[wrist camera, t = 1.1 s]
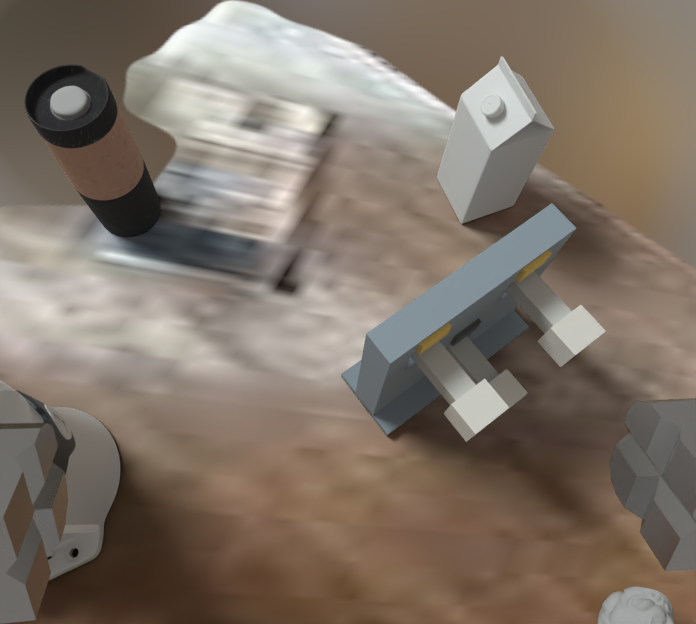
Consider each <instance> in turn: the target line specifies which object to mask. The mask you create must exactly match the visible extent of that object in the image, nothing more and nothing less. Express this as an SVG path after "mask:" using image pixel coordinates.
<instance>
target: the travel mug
mask: <svg viewBox="0 0 696 624" xmlns="http://www.w3.org/2000/svg"><path fill="white" fill-rule="evenodd" d="M24 102H25V109H26V112H27V115H28V117H29V119H30V120H31V122H32V123H33V125H34V126H35V128H36V129H37V130H38V132H39V134H40V135H41V137H42V138H43V140H44V141H45V143H46V145H47V146H48V148H49V149H50V151H51V152H52V154H53V155H54V157H55V158H56V160H57V161H58V163H59V164H60V166H61V167H62V169H63V171H64V172H65V173H66V175H67V177H68V178H69V180H70V181H71V183H72V184H73V185H74V187H75V189H76V190H77V191H78V193H79V194H80V195H81V197H82V198H83V199H84V201H85V202H86V203H87V205H88V206H89V207H90V209H91V210H92V211H93V213H94V214H95V215H96V217H97V218H98V219H99V221H100V222H101V223H102V224H103V226H104V227H105V228H106V229H107V230H108V231H110V232H111V233H113V234H115V235H118V236H123V237H132V236H137V235H140V234H142V233H144V232H146V231H148V230H149V229H150V228H151V227H152V226H153V225H154V224H155V223H156V221H157V220H158V218H159V215H160V201H159V198H158V195H157V193H156V190H155V188H154V185H153V183H152V180H151V178H150V175H149V173H148V170H147V168H146V165H145V163H144V160H143V158H142V156H141V154H140V152H139V149H138V147H137V145H136V143H135V141H134V139H133V137H132V135H131V132H130V130H129V128H128V126H127V124H126V122H125V120H124V118H123V116H122V113H121V111H120V110H119V107H118V105H117V103H116V101H115V99H114V97H113V95H112V92H111V90H110V88H109V86H108V84H107V82H106V81H105V78H104V77H103V76H102V77H101V76H99V75H97V74H95V73H93V72H91V71H89V70H87V69H86V68H84V67H83V66H81V65H77V64H69V65H61V66H57V67H54V68H51V69H49V70H47V71H45V72H43V73H42V74H40V75H39V76H38V77H37V78H36V79H35V80H34V81H33V82H32V83H31V84H30V86H29V87H28V89H27V92H26V95H25V101H24Z"/></svg>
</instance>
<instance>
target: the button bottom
mask: <svg viewBox="0 0 696 624" xmlns="http://www.w3.org/2000/svg"><path fill="white" fill-rule="evenodd" d="M446 349H447V351H448V352H449V353H450V354H451V355H452V357H453V358H454V359H455V360H456V361H457V363H458V364H459V365H460V366H461V368H462V369H463V370H464V371H465V372H466V374H467V375H468V376H469V377H470V378H471V380H472V381H473V382H474V383H475V384H476V385H477V384H478V383H479V382H481V381H482V380H483V379H486V380H487V382H488V383H489V384H490V385H491V386H492V388H493V389H494V390H495V391H496V392H497V393H498V395H499V396H500V397H501V398H502V399H503V401H504V402H505V403H506V404H507V405H508V407H509V408H510V407H512V406H513V405H514V404H515V403H517V402H518V401H519V400H520V399H522V398H523V397H524V396H525V395H527V394H528V392H527V391H526V390H525V389H524V388H523V387H522V385H521V384H520V383H519V382H518V381H517V380H516V378H515V377H514V376H513V375H512V374H511V373H510V371H509V370H508V369H506V370H505V371H503V372H502V373H501V374H499V373H498V372H497V371H496V370H495V369H494V367H493V366H492V365H491V364H490V363H489V361H488V360H487V359H486V358H485V357H484V356H483V354H482V353H481V352H480V351H479V350H478V349H477V347H476V346H475V345H474V344H473V343H472V341H471V340H470V339H469V338H468V337H467V336H466V337H465V338H464V339H462V340H461V341H460V342H458V343H457V344H456V345H454V346H452V345H450V346H449V347H448V348H446ZM509 408H508V409H509ZM508 409H507V410H508ZM507 410H506V411H507ZM503 413H504V412H503ZM503 413H502V414H503ZM498 417H499V416H498ZM498 417H497V418H498ZM493 421H494V420H493ZM493 421H492V422H493Z"/></svg>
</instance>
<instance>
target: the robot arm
mask: <svg viewBox="0 0 696 624" xmlns="http://www.w3.org/2000/svg"><path fill="white" fill-rule="evenodd" d="M624 423H625V425H626V427H627V429H628V431H629V433H628V434H627V435H626V436H625V437H624V438H623V439H622V440H620V441H619V442H618V443H617V444H616V445H615V448H614V451H613V454H612V457H611V460H610V469H611V481H612V484H613V487H614V489H615V492H616V494H617V496H618V498H619V499H620V501H621V503H622V504H623V506H624V507H625V508H626V509H628V510H629V511H631V512H632V513H634V514H635V515H637V516H638V517H640V518H641V519H642V522H641V529H640V533H641V534H642V536H643V537H644V539H645V541H646V542H647V544H648V545H649V547H650V548H651V550H652V551H653V553H654V555H655V556H656V558H657V559H658V561H659V562H660V564H661V565H662V567H663V569H664V570H665V571H676V570H696V398H691V399H669V400H646V401H636V402H635V403H634V404H633V405H632V406H631V407H630V408H629V410H628V413H627V415H626V418H625V420H624ZM119 481H120V458H119V453H118V449H117V446H116V444H115V442H114V439H113V438H112V436H111V434H110V433H109V431H108V430H107V429H106V427H105V426H104V425H103V424H102V423H101V422H99V421H98V420H97V419H96V418H94V417H93V416H91V415H89V414H87V413H85V412H83V411H80V410H77V409H73V408H67V407H50V406H48V405H46V404H44V403H42V402H40V401H38V400H36V399H34V398H32V397H30V396H29V395H26V394H24V393H22V392H20V391H17V390H14V389H13V388H11V387H9V386H8V385H7V384H5V383H4V382H3V381H1V380H0V624H5V623H14V622H24V621H33V620H36V619H37V615H38V612H39V609H40V606H41V603H42V600H43V596H44V593H45V590H46V587H47V584H48V581H49V580H51V579H54V578H56V577H58V576H60V575H62V574H64V573H66V572H68V571H70V570H72V569H74V568H77V567H79V566H81V565H83V564H85V563H87V562H89V561H91V560H93V559H94V558H96V557H97V556H98V554H99V553H100V551H101V548H102V543H103V534H104V522H105V519H106V516H107V514H108V512H109V510H110V508H111V506H112V503H113V501H114V499H115V496H116V493H117V490H118V486H119ZM75 548H77V549H78V551H79V553H78V555H77V556H76V557H75V558H74V557H73V556H72V552H73V550H74V549H75Z"/></svg>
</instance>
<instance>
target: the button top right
mask: <svg viewBox="0 0 696 624" xmlns="http://www.w3.org/2000/svg"><path fill="white" fill-rule="evenodd" d="M506 291H507V292H508V293H509V294H510V295H511V297H512V298H513V299H514V300H515V301H516V302H517V303H518V304H519V305H520V307H521V308H522V309H523V310H524V311H525V312H526V313H527V314H528V316H529V317H530V318H531V319H532V320H533V321H534V322H535V323H536V324H537V326H538V327H539V328H540V329H541V330H542V331H543V332H544V333H545V334H544V335H543V336H542V337H541V338H540V339H539V340H538V341H537V342H538V343H539V344H540V345H541V346H542V347H543V348H544V350H545V351H546V352H547V353H548V354H549V355H550V356H551V357H552V359H553V360H554V361H555V362H556V363H557V364H558V365H559V366H560V367H561V366H563V365H564V364H565V363H567V362H568V361H569V360H570V359H572V358H573V357H574V356H575V355H577V354H578V353H579V352H580V351H582V350H583V349H584V348H585V347H587V346H588V345H589V344H590V343H592V342H593V341H594V340H595V339H597V338H598V337H599V336H600V335H602V334H603V333H604V332H605V330H604V329H603V328H602V327H601V326H600V325H599V324H598V322H597V321H596V320H595V319H594V318H593V317H592V316H591V315H590V314H589V313H588V312H587V311H586V310H585V308H584V307H583V306H582V305H580V306H578V307H577V308H576V309H574V310H573V311H571V310H570V309H569V308H568V307H567V306H566V305H565V304H564V303H563V302H562V300H561V299H560V298H559V297H558V296H557V295H556V294H555V293H554V292H553V291H552V290H551V288H550V287H549V286H548V285H547V284H546V283H545V282H544V281H543V280H542V279H541V278H540V277H539V275H538V274H537V273H536V272H535V271H533V272H532V273H531V274H529V275H528V276H527V277H525V278H524V279H523V280H521V281H520V282H518V281H517V280H515V281H514V282H512V283H511V284H510V285H509V286H508V288H507V289H506Z"/></svg>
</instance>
